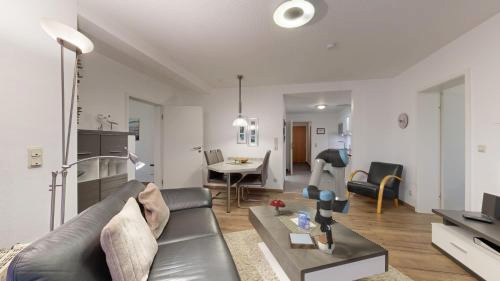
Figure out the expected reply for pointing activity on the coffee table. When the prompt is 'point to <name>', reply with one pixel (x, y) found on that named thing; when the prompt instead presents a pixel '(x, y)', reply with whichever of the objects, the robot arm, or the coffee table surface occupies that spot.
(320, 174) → the robot arm
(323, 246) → the lidded jar
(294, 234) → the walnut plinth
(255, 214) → the coffee table surface
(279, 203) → the decorative mushroom
